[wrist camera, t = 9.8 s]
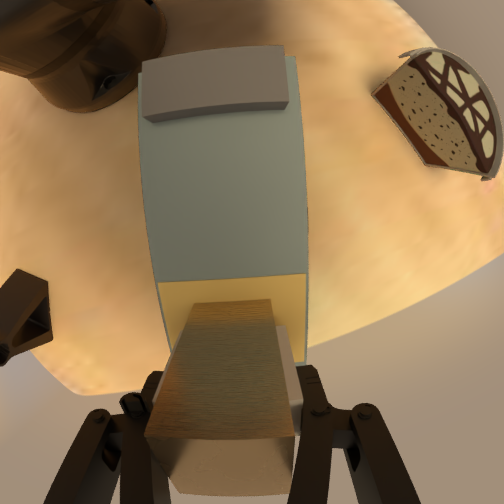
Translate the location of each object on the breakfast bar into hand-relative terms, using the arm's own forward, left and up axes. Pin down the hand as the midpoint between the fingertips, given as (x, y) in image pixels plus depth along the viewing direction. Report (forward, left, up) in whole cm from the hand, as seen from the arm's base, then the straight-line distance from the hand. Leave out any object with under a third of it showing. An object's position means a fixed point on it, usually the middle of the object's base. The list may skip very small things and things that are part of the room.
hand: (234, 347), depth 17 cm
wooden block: (0, 0, -2) cm, 2 cm away
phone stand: (+11, -25, -11) cm, 30 cm away
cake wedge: (-23, +13, -11) cm, 28 cm away
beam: (-7, -2, -3) cm, 7 cm away
